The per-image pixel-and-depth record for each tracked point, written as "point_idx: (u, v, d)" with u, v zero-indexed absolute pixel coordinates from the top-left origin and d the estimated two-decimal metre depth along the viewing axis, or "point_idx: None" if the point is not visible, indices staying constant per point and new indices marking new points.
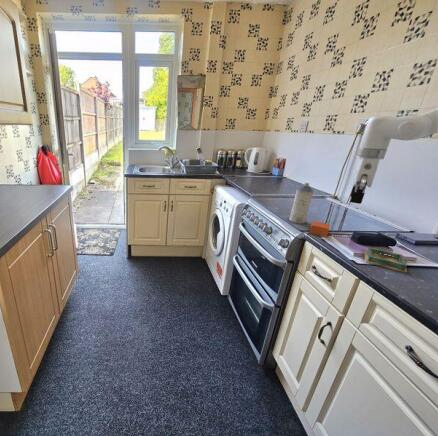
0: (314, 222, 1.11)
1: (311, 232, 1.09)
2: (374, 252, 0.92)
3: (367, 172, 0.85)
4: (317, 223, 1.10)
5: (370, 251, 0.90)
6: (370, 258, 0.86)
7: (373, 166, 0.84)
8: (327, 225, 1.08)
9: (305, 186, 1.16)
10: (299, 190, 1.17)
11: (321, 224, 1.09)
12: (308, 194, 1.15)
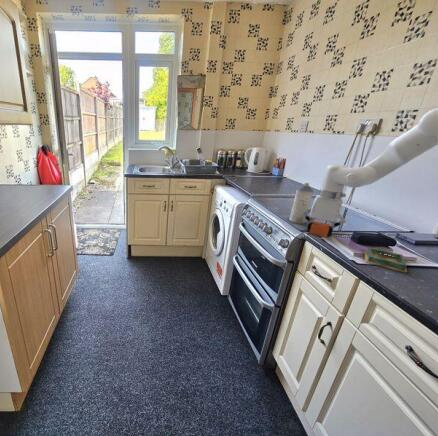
0: (314, 222, 1.11)
1: (311, 232, 1.09)
2: (374, 252, 0.92)
3: (340, 209, 1.03)
4: (317, 223, 1.10)
5: (370, 251, 0.90)
6: (370, 258, 0.86)
7: None
8: (327, 225, 1.08)
9: (305, 186, 1.16)
10: (299, 190, 1.17)
11: (321, 224, 1.09)
12: (308, 194, 1.15)
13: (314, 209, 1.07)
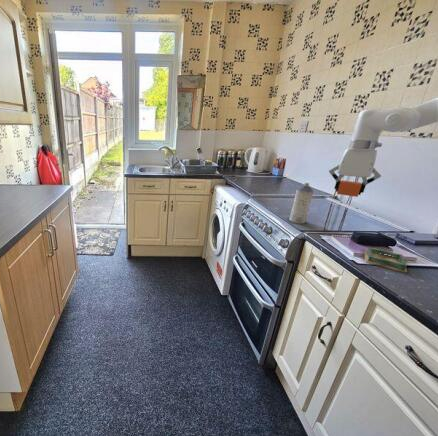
0: (342, 181, 0.98)
1: (339, 191, 0.96)
2: (374, 252, 0.92)
3: (374, 163, 0.90)
4: (346, 181, 0.97)
5: (370, 251, 0.90)
6: (370, 258, 0.86)
7: None
8: (358, 183, 0.95)
9: (305, 186, 1.16)
10: (299, 190, 1.17)
11: (351, 182, 0.96)
12: (308, 194, 1.15)
13: (344, 164, 0.94)
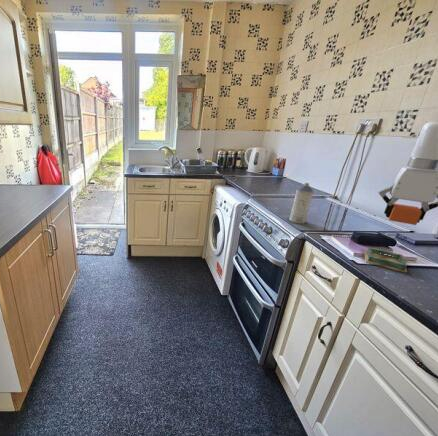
0: (395, 204, 0.83)
1: (393, 217, 0.81)
2: (374, 252, 0.92)
3: None
4: (400, 205, 0.82)
5: (370, 251, 0.90)
6: (370, 258, 0.86)
7: None
8: (415, 208, 0.80)
9: (305, 186, 1.16)
10: (299, 190, 1.17)
11: (406, 207, 0.81)
12: (308, 194, 1.15)
13: (400, 186, 0.79)
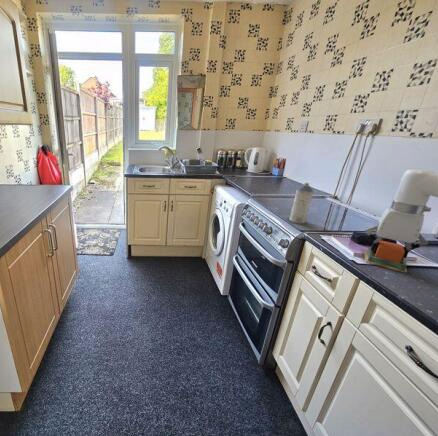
0: (380, 242, 0.88)
1: (378, 255, 0.86)
2: None
3: None
4: (385, 243, 0.87)
5: (370, 251, 0.90)
6: (370, 258, 0.86)
7: None
8: (399, 246, 0.85)
9: (305, 186, 1.16)
10: (299, 190, 1.17)
11: (391, 245, 0.86)
12: (308, 194, 1.15)
13: (384, 226, 0.84)
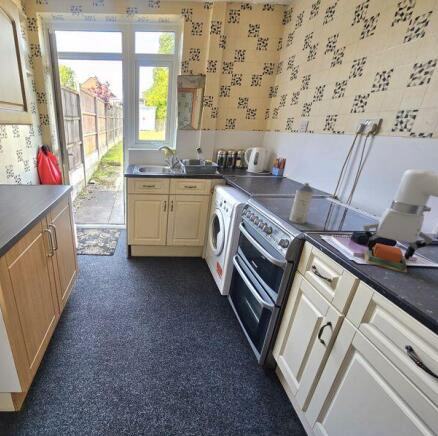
0: (379, 245, 0.88)
1: None
2: None
3: None
4: (383, 246, 0.87)
5: (370, 251, 0.90)
6: (370, 258, 0.86)
7: None
8: (397, 249, 0.85)
9: (305, 186, 1.16)
10: (299, 190, 1.17)
11: (389, 248, 0.86)
12: (308, 194, 1.15)
13: (384, 226, 0.84)
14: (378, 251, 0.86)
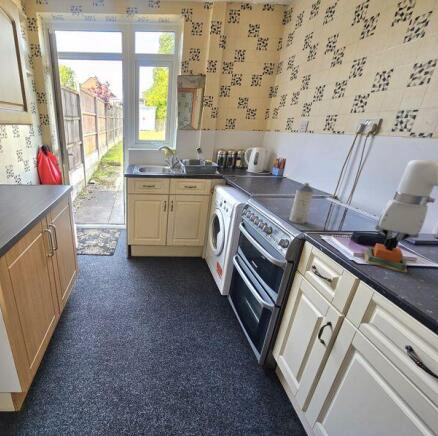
0: (379, 245, 0.89)
1: None
2: None
3: None
4: (383, 246, 0.87)
5: (370, 251, 0.90)
6: (370, 258, 0.86)
7: None
8: (397, 249, 0.85)
9: (305, 186, 1.16)
10: (299, 190, 1.17)
11: None
12: (308, 194, 1.15)
13: (387, 218, 0.83)
14: (378, 251, 0.86)
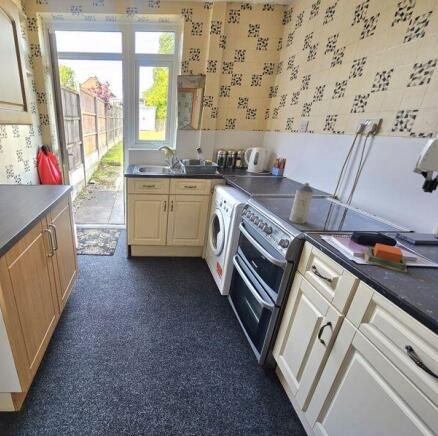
0: (379, 245, 0.88)
1: None
2: None
3: None
4: (383, 246, 0.87)
5: (370, 251, 0.90)
6: (370, 258, 0.86)
7: None
8: (397, 249, 0.85)
9: (305, 186, 1.16)
10: (299, 190, 1.17)
11: (389, 248, 0.86)
12: (308, 194, 1.15)
13: (427, 157, 0.80)
14: (378, 251, 0.86)
